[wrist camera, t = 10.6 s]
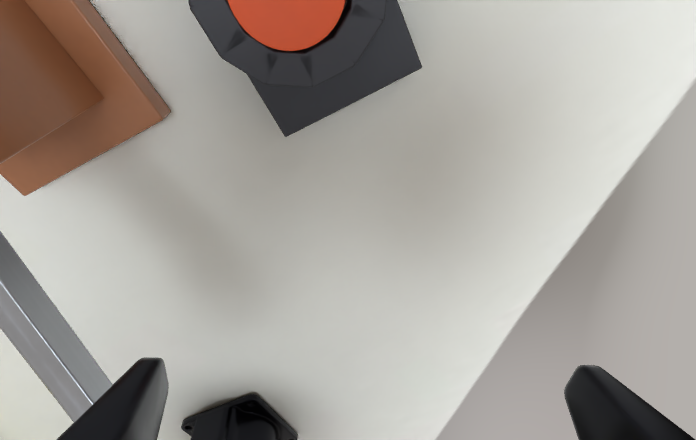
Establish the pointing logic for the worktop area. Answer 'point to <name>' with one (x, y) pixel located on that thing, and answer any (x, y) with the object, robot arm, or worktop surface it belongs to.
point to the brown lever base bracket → (65, 90)
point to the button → (287, 21)
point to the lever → (46, 338)
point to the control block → (317, 59)
